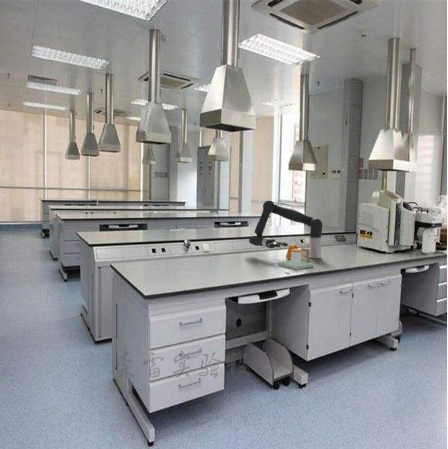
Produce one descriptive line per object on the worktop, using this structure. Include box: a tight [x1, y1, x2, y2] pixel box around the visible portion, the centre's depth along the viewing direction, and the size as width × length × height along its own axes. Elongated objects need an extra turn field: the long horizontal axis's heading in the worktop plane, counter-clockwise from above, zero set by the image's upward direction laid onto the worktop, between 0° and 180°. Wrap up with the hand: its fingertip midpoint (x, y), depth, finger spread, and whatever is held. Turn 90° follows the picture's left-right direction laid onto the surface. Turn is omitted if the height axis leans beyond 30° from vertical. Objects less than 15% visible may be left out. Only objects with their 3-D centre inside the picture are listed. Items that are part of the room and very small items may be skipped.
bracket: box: [285, 244, 299, 260], centre depth 301 cm, size 11×7×12 cm, turn 117°
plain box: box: [300, 247, 311, 263], centre depth 284 cm, size 5×5×12 cm
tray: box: [277, 259, 314, 271], centre depth 273 cm, size 18×18×3 cm
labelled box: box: [291, 248, 301, 266], centre depth 273 cm, size 5×5×12 cm
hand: (283, 245), depth 284 cm, fingers open, 8 cm apart
